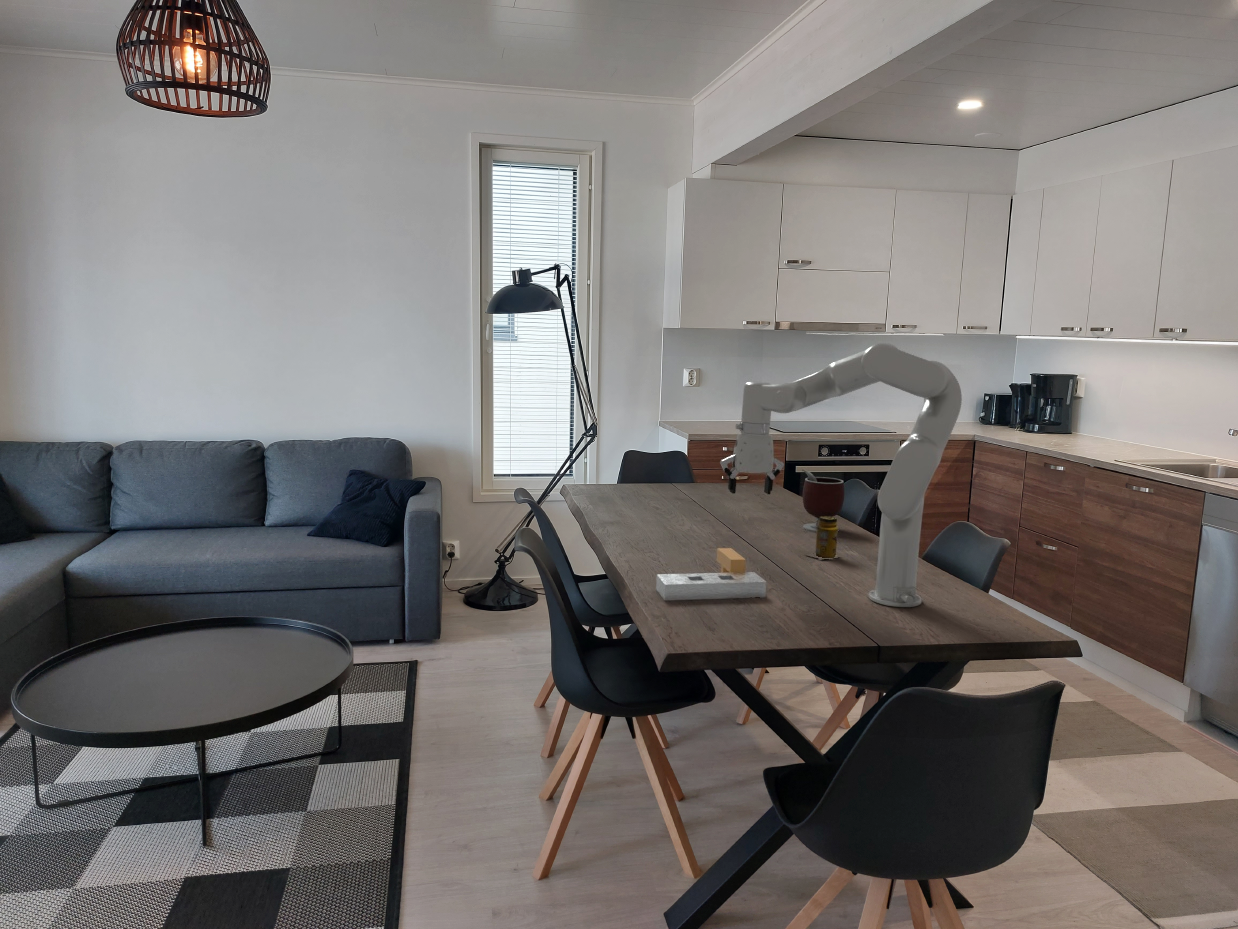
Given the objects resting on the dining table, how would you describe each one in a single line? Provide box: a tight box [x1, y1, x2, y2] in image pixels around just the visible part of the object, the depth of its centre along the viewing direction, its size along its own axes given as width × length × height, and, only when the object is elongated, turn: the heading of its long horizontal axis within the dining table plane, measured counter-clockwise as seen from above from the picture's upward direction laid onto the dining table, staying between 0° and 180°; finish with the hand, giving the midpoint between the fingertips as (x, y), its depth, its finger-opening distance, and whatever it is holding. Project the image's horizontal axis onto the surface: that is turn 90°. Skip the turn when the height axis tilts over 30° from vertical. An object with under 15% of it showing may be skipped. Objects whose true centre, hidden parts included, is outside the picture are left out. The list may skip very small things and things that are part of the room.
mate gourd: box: [802, 468, 845, 533], centre depth 292 cm, size 16×14×20 cm
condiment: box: [814, 516, 839, 558], centre depth 254 cm, size 7×8×12 cm
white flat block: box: [655, 571, 767, 601], centre depth 214 cm, size 9×26×4 cm, turn 101°
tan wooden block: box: [716, 547, 747, 573], centre depth 227 cm, size 4×12×7 cm, turn 11°
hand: (749, 493), depth 226 cm, fingers open, 9 cm apart
